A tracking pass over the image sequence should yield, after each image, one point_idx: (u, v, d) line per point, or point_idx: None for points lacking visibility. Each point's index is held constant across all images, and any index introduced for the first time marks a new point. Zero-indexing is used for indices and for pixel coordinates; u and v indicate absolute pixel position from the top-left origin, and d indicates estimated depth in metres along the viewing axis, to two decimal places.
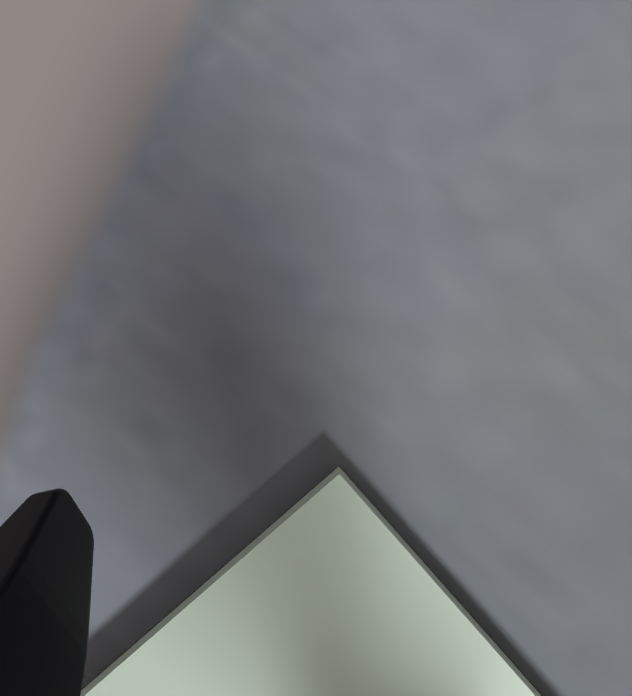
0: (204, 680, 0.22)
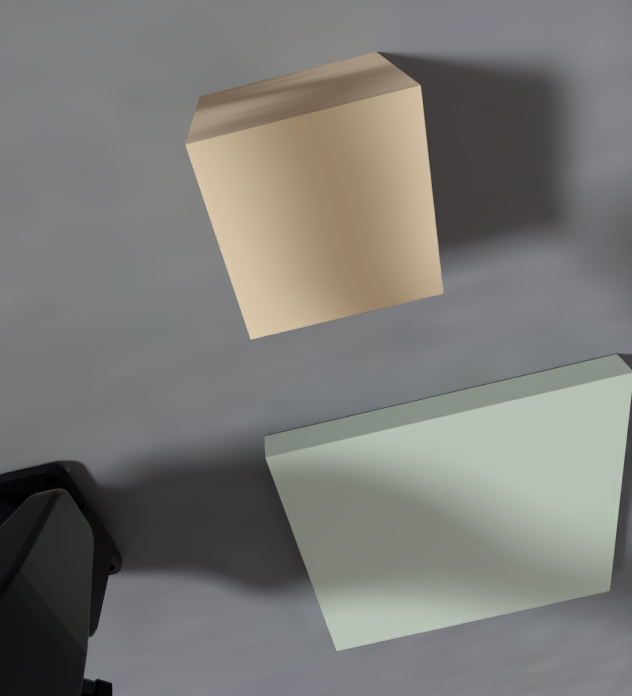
0: (564, 482, 0.25)
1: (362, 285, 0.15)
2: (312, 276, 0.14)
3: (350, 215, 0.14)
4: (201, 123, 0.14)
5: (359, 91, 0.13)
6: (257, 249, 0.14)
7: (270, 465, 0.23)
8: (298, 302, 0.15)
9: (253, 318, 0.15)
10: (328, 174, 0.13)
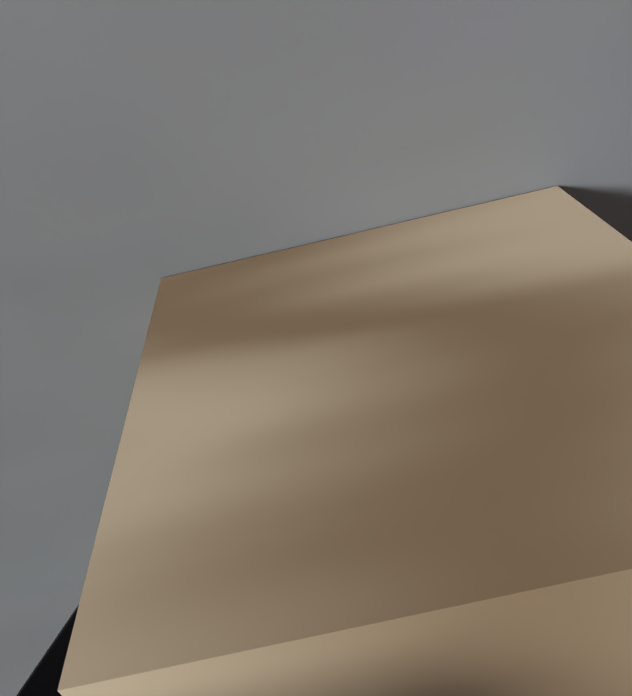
0: None
1: None
2: None
3: None
4: (141, 474, 0.05)
5: None
6: None
7: None
8: None
9: None
10: None
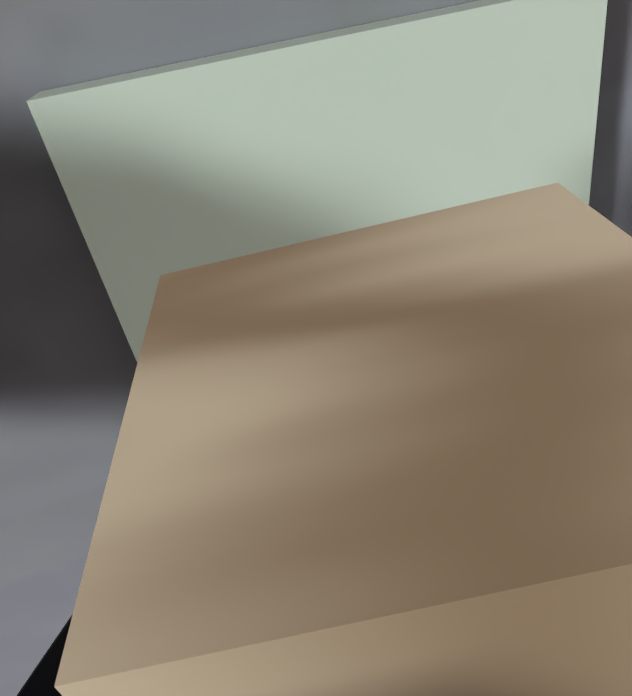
0: None
1: None
2: None
3: None
4: (139, 470, 0.05)
5: None
6: None
7: (37, 119, 0.14)
8: None
9: None
10: None
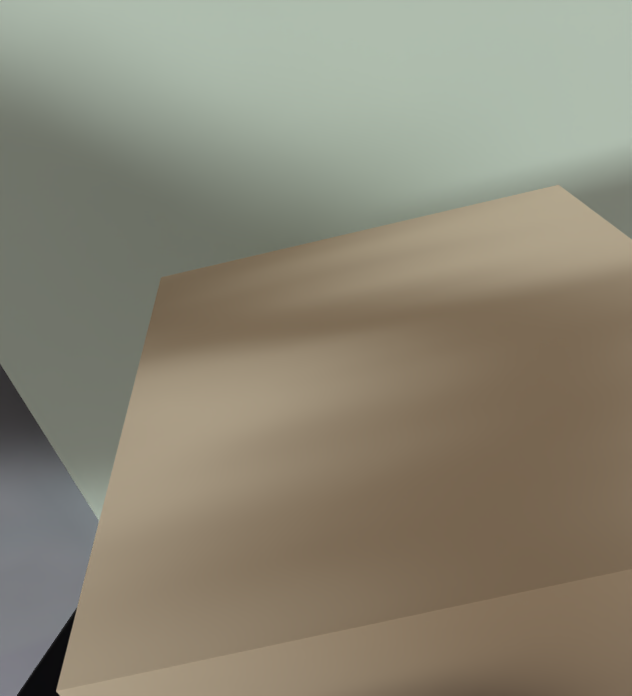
0: (602, 139, 0.10)
1: None
2: None
3: None
4: (141, 473, 0.05)
5: None
6: None
7: None
8: None
9: None
10: None
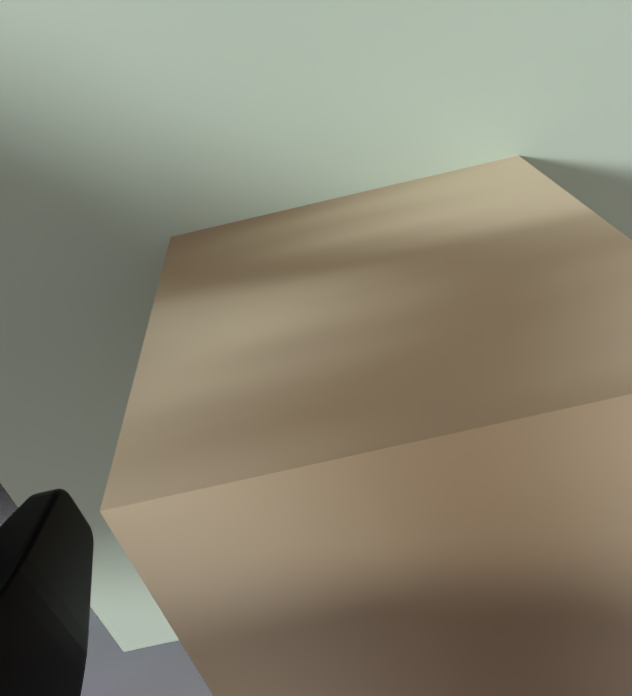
0: None
1: None
2: None
3: (522, 608, 0.06)
4: (158, 375, 0.06)
5: (573, 334, 0.05)
6: (292, 671, 0.06)
7: None
8: None
9: None
10: (486, 545, 0.05)
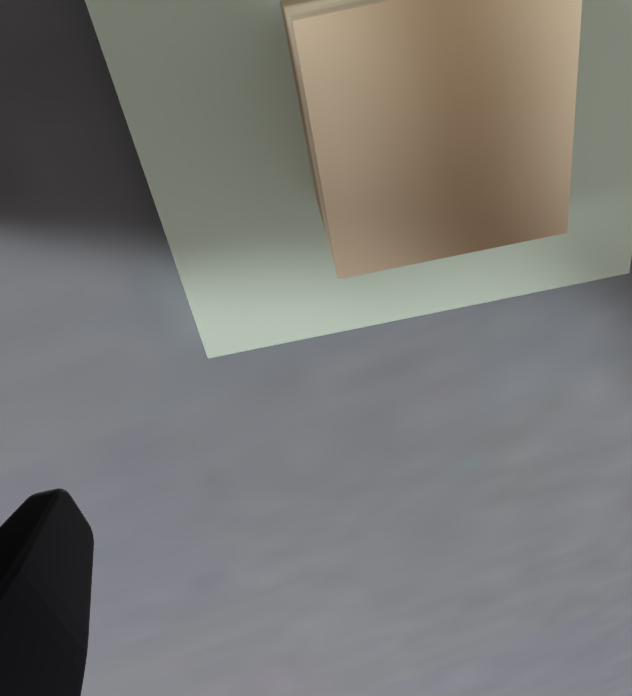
0: None
1: (476, 217, 0.12)
2: (420, 202, 0.12)
3: (475, 127, 0.11)
4: (300, 10, 0.11)
5: None
6: (361, 164, 0.12)
7: None
8: (399, 235, 0.12)
9: (344, 253, 0.13)
10: (458, 71, 0.11)
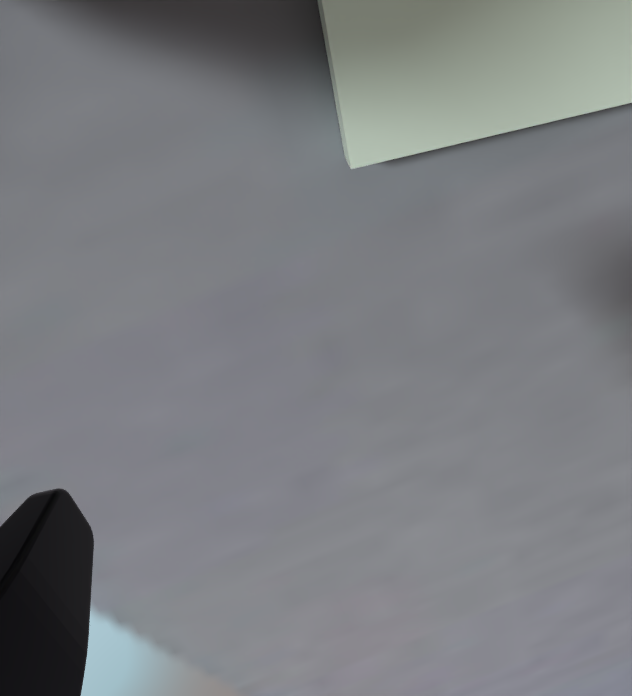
0: None
1: None
2: None
3: None
4: None
5: None
6: None
7: None
8: None
9: None
10: None
